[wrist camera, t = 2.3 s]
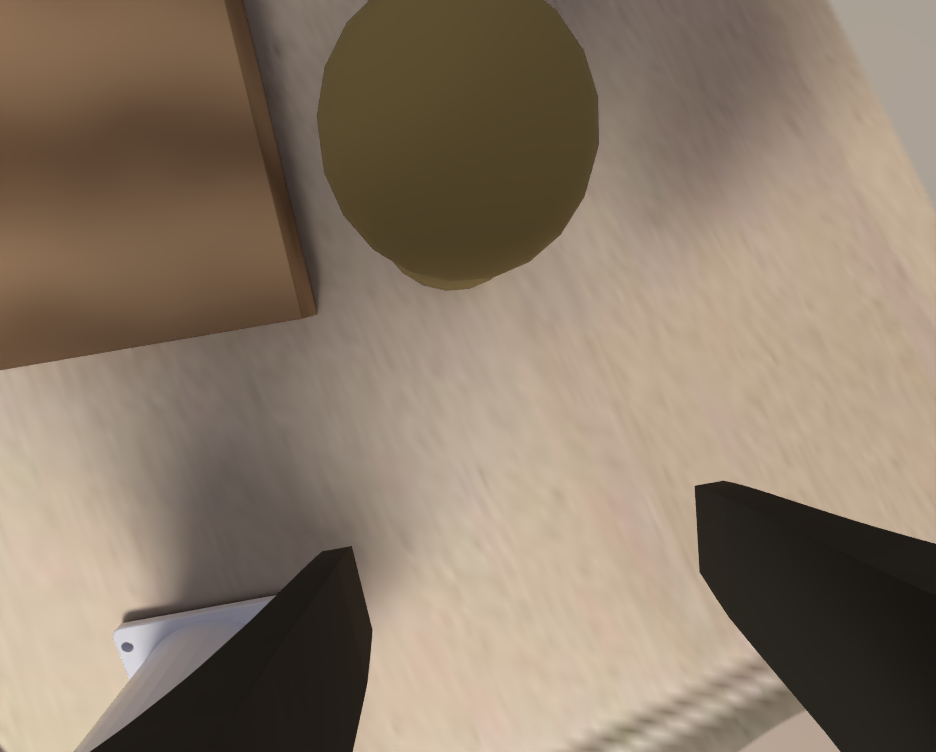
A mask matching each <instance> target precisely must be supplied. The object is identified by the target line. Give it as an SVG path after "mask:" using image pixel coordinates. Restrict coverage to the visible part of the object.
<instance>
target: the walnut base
mask: <svg viewBox="0 0 936 752" xmlns="http://www.w3.org/2000/svg"><path fill="white" fill-rule="evenodd" d="M316 314H317V311H316V307H315V303H314V299H313V295H312V290H311V286H310V282H309V278H308V273H307V269H306V265H305V261H304V257H303V252H302V248H301V244H300V240H299V236H298V231H297V227H296V223H295V219H294V215H293V210H292V206H291V202H290V198H289V194H288V189H287V185H286V181H285V177H284V172H283V168H282V164H281V160H280V156H279V151H278V147H277V143H276V139H275V135H274V130H273V126H272V122H271V118H270V114H269V109H268V105H267V101H266V97H265V93H264V88H263V84H262V80H261V76H260V71H259V67H258V63H257V59H256V55H255V50H254V46H253V42H252V38H251V34H250V29H249V25H248V21H247V17H246V13H245V8H244V4H243V0H0V370H4V369H10V368H16V367H22V366H28V365H33V364H39V363H45V362H51V361H57V360H63V359H68V358H74V357H80V356H86V355H92V354H98V353H103V352H109V351H115V350H121V349H127V348H133V347H139V346H144V345H150V344H156V343H162V342H168V341H174V340H179V339H185V338H191V337H197V336H203V335H209V334H215V333H220V332H226V331H232V330H238V329H244V328H250V327H255V326H261V325H267V324H273V323H279V322H285V321H291V320H296V319H302V318H306V317H309V316H313V315H316Z"/></svg>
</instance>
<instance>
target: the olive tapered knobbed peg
mask: <svg viewBox="0 0 936 752" xmlns="http://www.w3.org/2000/svg"><path fill="white" fill-rule="evenodd" d="M317 121H318V130H319V137H320V144H321V152H322V159H323V166H324V173H325V175H326V178H327V180H328V182H329V184H330V186H331V189H332V191H333V193H334V195H335V197H336V200H337V202H338V204H339V206H340V208H341V211H342V213H343V215H344V216H345V218H346V219H347V220H348V221H349V222H350V223H351V224H352V226H353V227H354V228H355V229H356V230H357V231H358V232H359V234H360V235H361V236H362V237H363V238H364V239H365V240H366V242H367V243H368V244H369V245H370V246H371V247H372V248H373V249H374V250H375V251H377V252H379V253H380V254H382V255H383V256H385V257H387V258H388V259H390V260H392V261H393V262H394V263H395V264H396V265H397V267H398V268H399V269H400V270H401V271H402V272H403V273H404V274H406V275H408V276H409V277H411V278H413V279H414V280H416V281H417V282H419V283H421V284H422V285H425V286H429V287H434V288H438V289H442V290H458V289H469V288H472V287H474V286H477V285H479V284H481V283H484V282H486V281H488V280H491V279H492V278H493V277H495V276H497V275H500V274H502V273H504V272H507V271H509V270H511V269H514V268H516V267H518V266H521V265H523V264H526V263H528V262H529V261H531V260H532V259H533V258H534V257H535V256H536V255H538V254H539V253H540V252H541V251H542V250H543V249H545V248H546V247H547V246H548V245H549V244H550V243H551V242H553V241H554V240H555V239H556V238H557V237H558V236H560V235H561V233H562V232H563V230H564V228H565V227H566V225H567V224H568V222H569V220H570V219H571V217H572V216H573V214H574V212H575V211H576V209H577V208H578V206H579V204H580V203H581V201H582V199H583V198H584V195H585V192H586V189H587V185H588V182H589V178H590V174H591V171H592V167H593V164H594V160H595V156H596V153H597V149H598V145H599V129H598V95H597V92H596V89H595V85H594V82H593V79H592V76H591V72H590V69H589V66H588V63H587V60H586V56H585V53H584V50H583V49H582V47H581V46H580V44H579V43H578V41H577V40H576V38H575V37H574V35H573V34H572V33H571V31H570V30H569V28H568V27H567V25H566V24H565V22H564V21H563V19H562V18H561V16H560V15H559V14H558V12H557V11H556V9H554V8H553V7H552V6H550V5H549V4H548V3H546V2H545V1H544V0H369V1H368V2H367V3H366V4H365V5H364V6H363V7H362V8H361V9H360V10H359V11H358V12H357V13H356V14H355V15H354V16H353V17H352V18H351V19H350V20H349V21H348V22H347V23H346V25H345V27H344V29H343V31H342V33H341V35H340V37H339V39H338V41H337V43H336V45H335V47H334V49H333V51H332V53H331V55H330V57H329V59H328V61H327V63H326V65H325V69H324V75H323V81H322V88H321V94H320V100H319V107H318V113H317Z"/></svg>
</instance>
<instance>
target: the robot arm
mask: <svg viewBox="0 0 936 752" xmlns="http://www.w3.org/2000/svg"><path fill="white" fill-rule="evenodd" d="M695 499H696V517H697V534H698V551H699V568H700V573H701V575H702V576H703V578H704V580H705V581H706V583H707V584H708V586H709V588H710V589H711V591H712V592H713V594H714V595H715V597H716V599H717V600H718V601H719V603H720V604H721V606H722V607H723V609H724V610H725V612H726V613H727V615H728V616H729V618H730V619H731V620H732V621H733V623H734V624H735V625H736V626H737V628H738V629H739V630H740V631H741V632H742V634H743V635H744V636H745V637H746V639H747V640H748V641H749V642H750V643H751V645H752V646H753V647H754V648H755V649H756V651H757V652H758V653H759V654H760V655H761V657H762V658H763V659H764V660H765V661H766V663H767V664H768V665H769V666H770V667H771V668H772V670H773V671H774V672H775V673H776V674H777V676H778V677H779V678H780V679H781V680H782V681H783V683H784V684H785V685H786V686H787V687H788V689H789V690H790V691H791V692H792V693H793V695H794V696H795V697H796V698H797V699H798V700H799V702H800V703H801V704H802V705H803V706H804V708H805V709H806V710H807V711H808V712H809V714H810V715H811V716H812V717H813V718H814V719H815V721H816V722H817V723H818V724H819V725H820V727H821V728H822V729H823V730H824V731H825V732H826V734H827V735H828V736H829V738H830V739H831V740H832V741H833V743H834V744H835V745H836V746H837V748H838V749H839V750H840V751H841V752H936V544H934V543H930V542H927V541H923V540H919V539H916V538H912V537H909V536H905V535H902V534H898V533H895V532H891V531H888V530H884V529H881V528H877V527H874V526H870V525H867V524H864V523H860V522H857V521H854V520H851V519H847V518H844V517H841V516H838V515H835V514H831V513H828V512H825V511H822V510H819V509H816V508H813V507H810V506H807V505H804V504H800V503H797V502H794V501H791V500H788V499H785V498H782V497H779V496H776V495H773V494H770V493H766V492H763V491H760V490H757V489H753V488H750V487H747V486H743V485H739V484H736V483H731V482H727V481H720V482H714V483H708V484H703V485H697V486H695ZM113 639H114V642H115V644H116V647H117V650H118V652H119V655H120V657H121V660H122V662H123V665H124V667H125V670H126V672H127V675H128V677H129V681H128V683H127V684H126V685H125V687H124V688H123V689H122V690H121V692H120V693H119V694H118V696H117V697H116V698H115V699H114V701H113V702H112V703H111V705H110V706H109V707H108V708H107V710H106V711H105V712H104V713H103V715H102V716H101V717H100V719H99V720H98V721H97V722H96V724H95V725H94V726H93V728H92V729H91V730H90V731H89V733H88V734H87V735H86V737H85V738H84V739H83V740H82V742H81V743H80V744H79V746H78V747H77V748H76V749H75V751H74V752H353V747H354V743H355V738H356V734H357V729H358V725H359V720H360V715H361V711H362V706H363V701H364V697H365V692H366V687H367V681H368V672H369V663H370V653H371V641H372V627H371V623H370V619H369V615H368V610H367V606H366V602H365V598H364V594H363V590H362V586H361V582H360V578H359V574H358V570H357V566H356V562H355V557H354V553H353V549H352V546H351V547H345V548H339V549H334V550H328V551H322V552H321V553H320V554H319V555H318V556H316V557H315V558H314V559H313V560H312V561H311V562H310V563H309V564H308V565H307V566H306V567H305V568H304V569H303V570H302V571H301V572H300V573H298V574H297V575H296V576H295V577H294V578H293V579H292V580H291V581H290V582H289V583H288V584H287V585H286V586H285V587H284V588H283V589H282V590H281V591H280V592H279V593H278V594H277V595H274V596H269V597H263V598H258V599H252V600H247V601H241V602H236V603H230V604H224V605H219V606H213V607H208V608H202V609H197V610H191V611H186V612H180V613H175V614H169V615H164V616H158V617H153V618H147V619H142V620H136V621H131V622H125V623H123V624H121V625H120V626H119V627H118V628H117V629H116V630H115V631H114V633H113ZM128 642H129V643H131V644H132V645H131V644H129V643H128Z"/></svg>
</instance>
